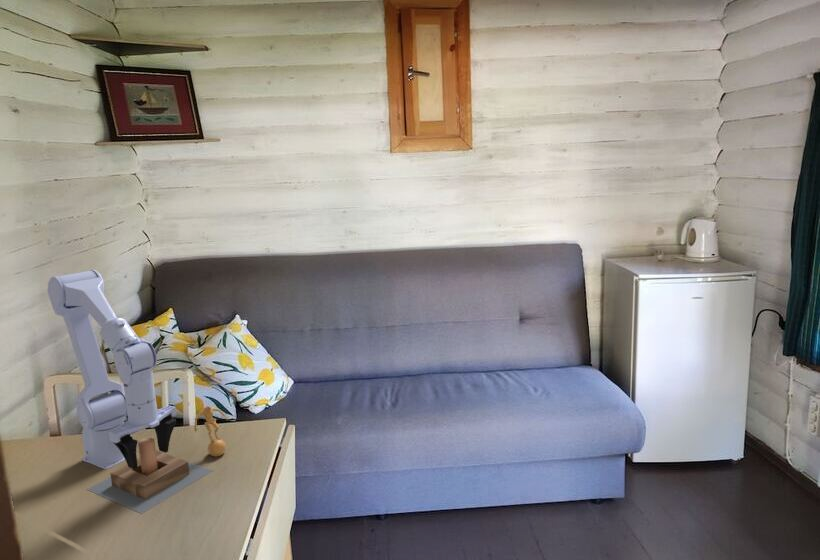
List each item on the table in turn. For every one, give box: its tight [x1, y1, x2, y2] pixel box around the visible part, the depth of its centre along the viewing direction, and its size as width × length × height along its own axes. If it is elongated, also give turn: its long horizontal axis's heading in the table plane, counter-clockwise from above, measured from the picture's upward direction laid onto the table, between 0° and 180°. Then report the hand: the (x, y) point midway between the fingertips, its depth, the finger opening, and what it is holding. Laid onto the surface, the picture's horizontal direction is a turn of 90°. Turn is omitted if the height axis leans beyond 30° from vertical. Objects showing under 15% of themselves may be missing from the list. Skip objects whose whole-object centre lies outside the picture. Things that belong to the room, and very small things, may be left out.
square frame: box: [109, 450, 189, 500], centre depth 128 cm, size 11×11×3 cm
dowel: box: [137, 437, 158, 476], centre depth 128 cm, size 3×3×9 cm
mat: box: [86, 461, 214, 515], centre depth 129 cm, size 18×18×1 cm
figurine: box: [194, 405, 228, 458], centre depth 139 cm, size 8×6×12 cm
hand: (148, 459), depth 128 cm, fingers open, 7 cm apart
